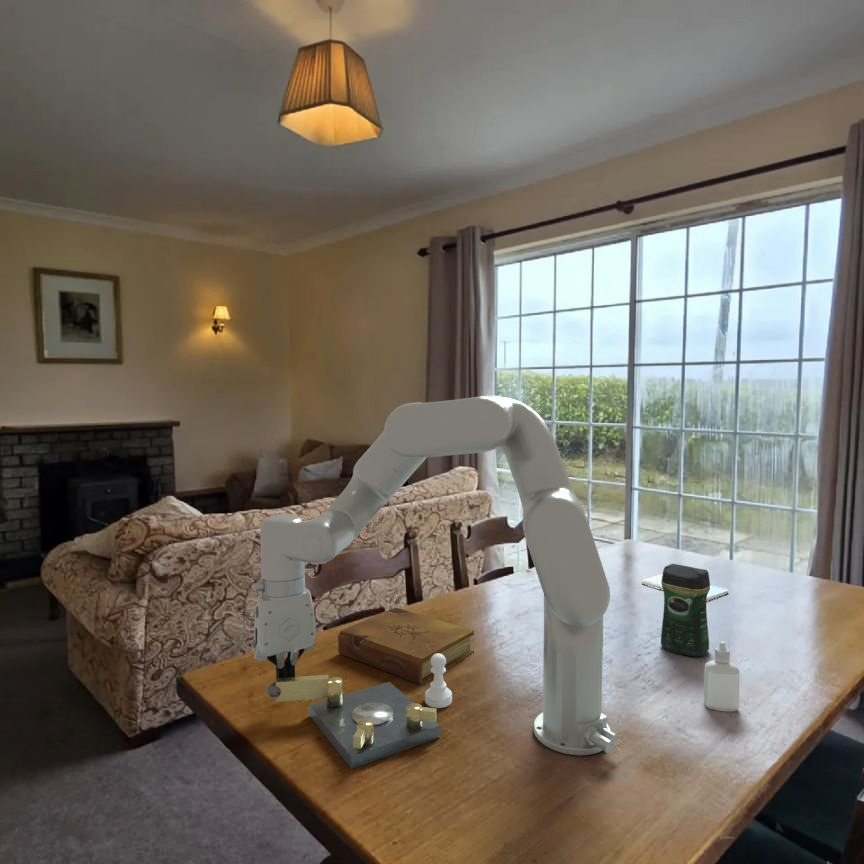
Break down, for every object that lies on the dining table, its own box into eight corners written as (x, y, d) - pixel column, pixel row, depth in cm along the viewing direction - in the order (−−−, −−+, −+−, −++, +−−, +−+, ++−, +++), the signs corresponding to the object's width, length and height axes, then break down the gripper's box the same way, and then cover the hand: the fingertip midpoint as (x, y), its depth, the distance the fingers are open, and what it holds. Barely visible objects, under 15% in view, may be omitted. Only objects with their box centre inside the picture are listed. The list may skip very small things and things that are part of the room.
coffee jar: (713, 650, 134) (715, 567, 133) (699, 661, 128) (702, 575, 127) (670, 637, 141) (671, 558, 139) (655, 648, 135) (656, 566, 134)
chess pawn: (420, 705, 111) (420, 657, 110) (430, 692, 116) (430, 646, 115) (446, 710, 109) (446, 662, 109) (455, 697, 114) (455, 650, 113)
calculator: (666, 577, 188) (667, 571, 187) (730, 595, 171) (730, 588, 171) (639, 585, 180) (640, 579, 180) (703, 604, 164) (703, 597, 163)
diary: (338, 657, 133) (337, 631, 132) (395, 630, 147) (395, 607, 147) (420, 688, 119) (419, 659, 118) (474, 655, 133) (474, 629, 133)
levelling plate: (441, 738, 100) (441, 709, 100) (352, 771, 92) (352, 739, 92) (389, 691, 116) (389, 666, 116) (309, 715, 108) (308, 688, 107)
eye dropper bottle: (733, 717, 107) (735, 650, 106) (700, 706, 110) (702, 641, 109) (741, 707, 110) (743, 642, 109) (708, 697, 114) (710, 634, 113)
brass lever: (342, 698, 110) (342, 672, 109) (342, 706, 107) (342, 679, 106) (268, 703, 108) (267, 677, 107) (265, 711, 105) (265, 684, 105)
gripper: (246, 599, 101) (249, 706, 102) (331, 583, 109) (332, 683, 110) (235, 587, 107) (238, 687, 109) (315, 573, 115) (317, 667, 116)
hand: (285, 685), depth 109 cm, fingers closed
